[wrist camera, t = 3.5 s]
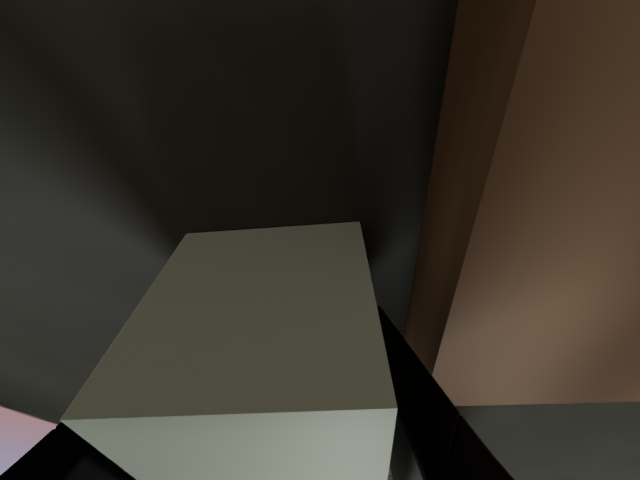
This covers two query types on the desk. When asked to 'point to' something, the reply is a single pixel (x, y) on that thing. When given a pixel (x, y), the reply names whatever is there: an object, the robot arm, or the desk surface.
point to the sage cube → (248, 364)
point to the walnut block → (534, 208)
